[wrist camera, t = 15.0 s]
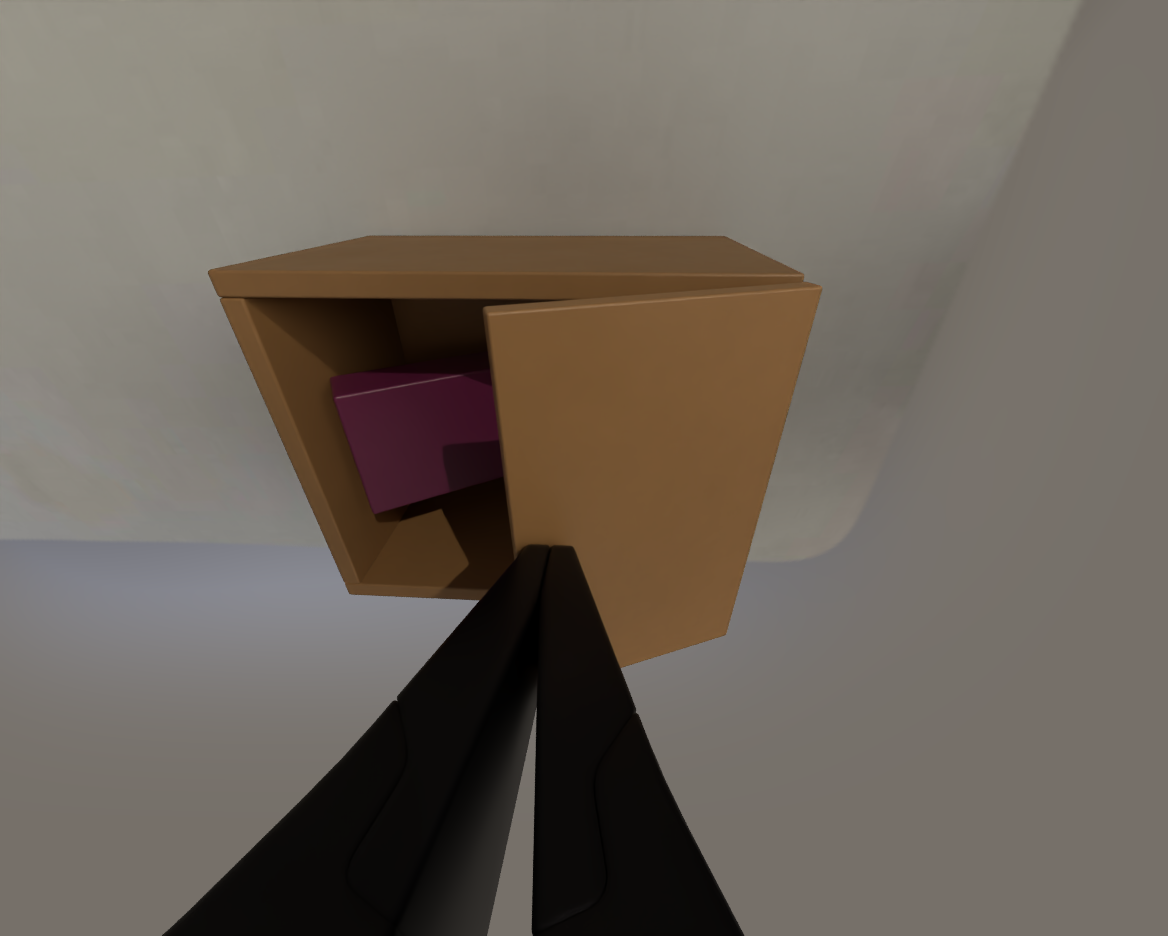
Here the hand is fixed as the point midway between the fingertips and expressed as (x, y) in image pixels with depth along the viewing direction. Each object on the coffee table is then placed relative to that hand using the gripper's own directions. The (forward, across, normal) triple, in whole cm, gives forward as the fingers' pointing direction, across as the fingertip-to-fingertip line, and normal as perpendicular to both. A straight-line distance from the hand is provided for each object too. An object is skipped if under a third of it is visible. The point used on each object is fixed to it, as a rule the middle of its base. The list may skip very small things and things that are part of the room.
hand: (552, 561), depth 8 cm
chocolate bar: (+6, +3, 0) cm, 7 cm away
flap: (+1, -2, 0) cm, 2 cm away
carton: (+9, +1, 0) cm, 9 cm away
